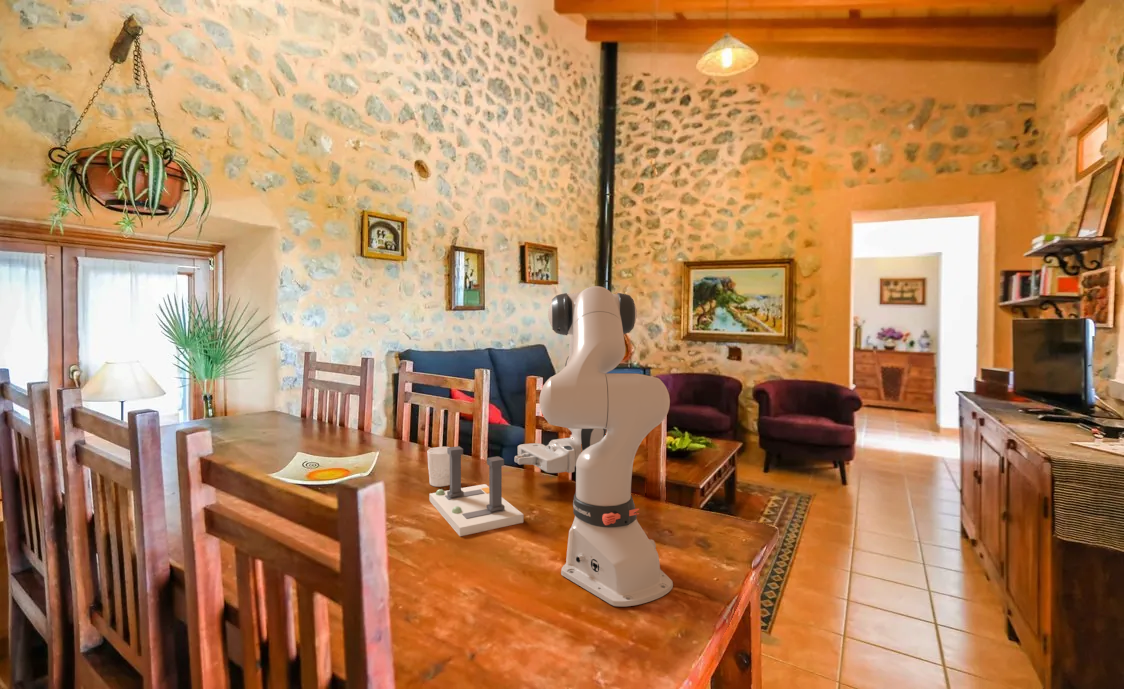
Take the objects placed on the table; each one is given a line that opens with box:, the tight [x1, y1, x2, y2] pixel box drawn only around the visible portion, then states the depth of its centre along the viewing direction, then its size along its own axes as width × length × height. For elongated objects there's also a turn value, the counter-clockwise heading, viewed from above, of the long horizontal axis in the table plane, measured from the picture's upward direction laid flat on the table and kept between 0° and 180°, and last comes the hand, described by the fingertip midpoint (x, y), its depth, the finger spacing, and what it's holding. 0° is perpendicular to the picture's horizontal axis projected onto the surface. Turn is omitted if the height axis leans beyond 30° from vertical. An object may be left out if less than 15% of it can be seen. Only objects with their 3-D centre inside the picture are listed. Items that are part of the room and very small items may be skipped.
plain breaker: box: [486, 455, 505, 512], centre depth 126 cm, size 3×4×12 cm
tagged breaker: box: [446, 445, 464, 498], centre depth 136 cm, size 3×4×12 cm
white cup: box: [426, 446, 450, 488], centre depth 152 cm, size 8×8×10 cm
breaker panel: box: [428, 483, 524, 537], centre depth 131 cm, size 25×16×3 cm, turn 30°
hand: (516, 460), depth 144 cm, fingers closed
